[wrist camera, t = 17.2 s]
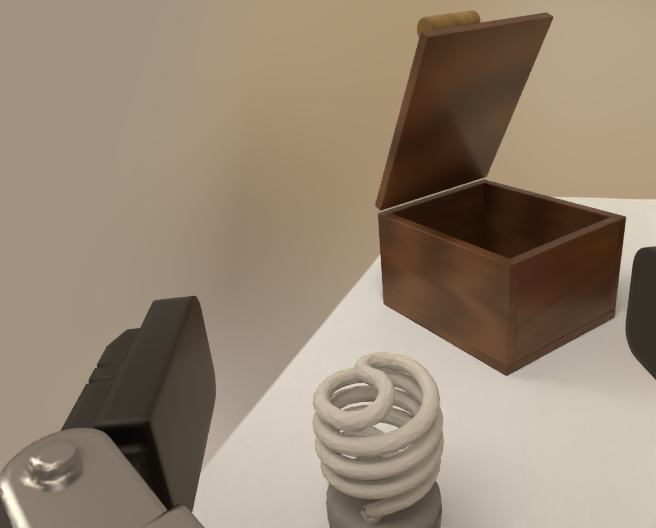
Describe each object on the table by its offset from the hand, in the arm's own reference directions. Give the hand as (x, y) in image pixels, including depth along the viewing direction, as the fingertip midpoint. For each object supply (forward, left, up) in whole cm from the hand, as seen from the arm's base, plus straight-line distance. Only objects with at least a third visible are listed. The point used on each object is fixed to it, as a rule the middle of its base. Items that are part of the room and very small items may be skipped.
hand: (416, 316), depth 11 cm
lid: (+4, +40, -5) cm, 40 cm away
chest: (+6, +37, -21) cm, 43 cm away
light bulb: (-2, +11, -21) cm, 24 cm away
